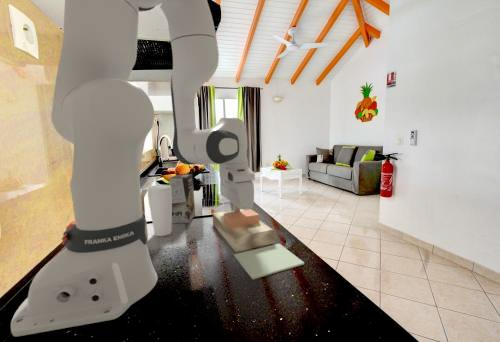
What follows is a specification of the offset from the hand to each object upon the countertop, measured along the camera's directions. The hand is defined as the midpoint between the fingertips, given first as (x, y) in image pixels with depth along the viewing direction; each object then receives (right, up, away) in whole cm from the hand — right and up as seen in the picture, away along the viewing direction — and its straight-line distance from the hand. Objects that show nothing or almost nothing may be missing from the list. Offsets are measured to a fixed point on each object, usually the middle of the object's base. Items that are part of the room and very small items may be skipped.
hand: (235, 215), depth 74 cm
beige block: (+1, -5, -2) cm, 6 cm away
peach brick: (+2, 0, -4) cm, 5 cm away
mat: (+9, -7, -18) cm, 22 cm away
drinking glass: (-23, -6, 0) cm, 23 cm away
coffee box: (-20, -4, +13) cm, 24 cm away
